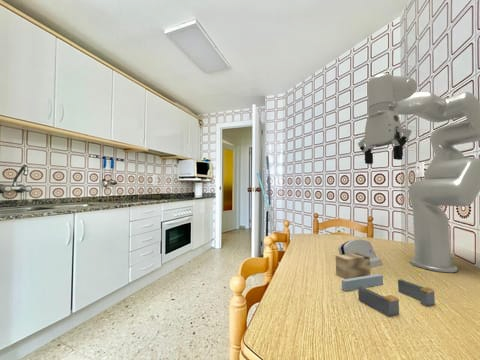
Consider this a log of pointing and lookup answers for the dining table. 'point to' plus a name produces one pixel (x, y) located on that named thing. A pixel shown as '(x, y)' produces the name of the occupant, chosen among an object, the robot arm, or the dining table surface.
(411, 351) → the dining table surface
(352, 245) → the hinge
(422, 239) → the robot arm
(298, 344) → the dining table surface
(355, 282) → the plank
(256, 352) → the dining table surface
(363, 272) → the brown box
